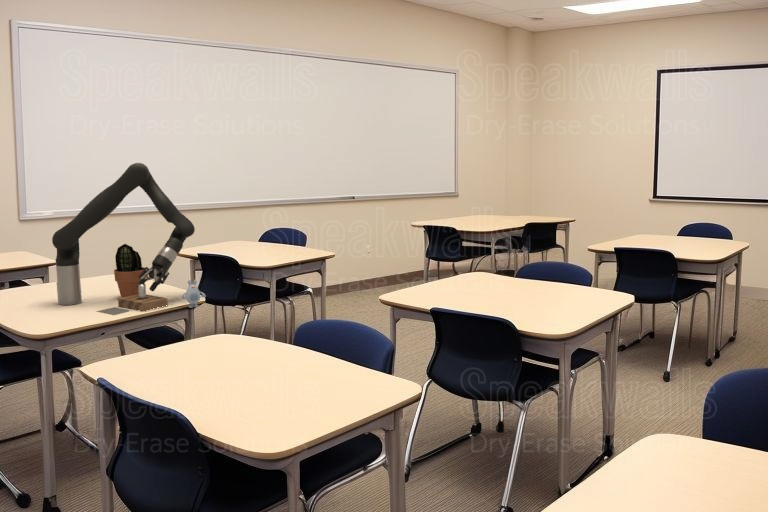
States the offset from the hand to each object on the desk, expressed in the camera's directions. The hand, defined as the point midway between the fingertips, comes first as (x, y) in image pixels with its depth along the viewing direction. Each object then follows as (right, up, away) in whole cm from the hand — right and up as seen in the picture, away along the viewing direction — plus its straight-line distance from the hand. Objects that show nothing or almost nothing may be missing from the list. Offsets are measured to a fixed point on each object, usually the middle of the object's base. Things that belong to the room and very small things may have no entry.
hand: (144, 289), depth 294 cm
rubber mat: (-10, -9, -8) cm, 16 cm away
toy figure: (+21, -8, 0) cm, 22 cm away
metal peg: (-1, -8, 0) cm, 8 cm away
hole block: (-1, -8, 0) cm, 8 cm away
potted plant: (-13, -5, +20) cm, 24 cm away
